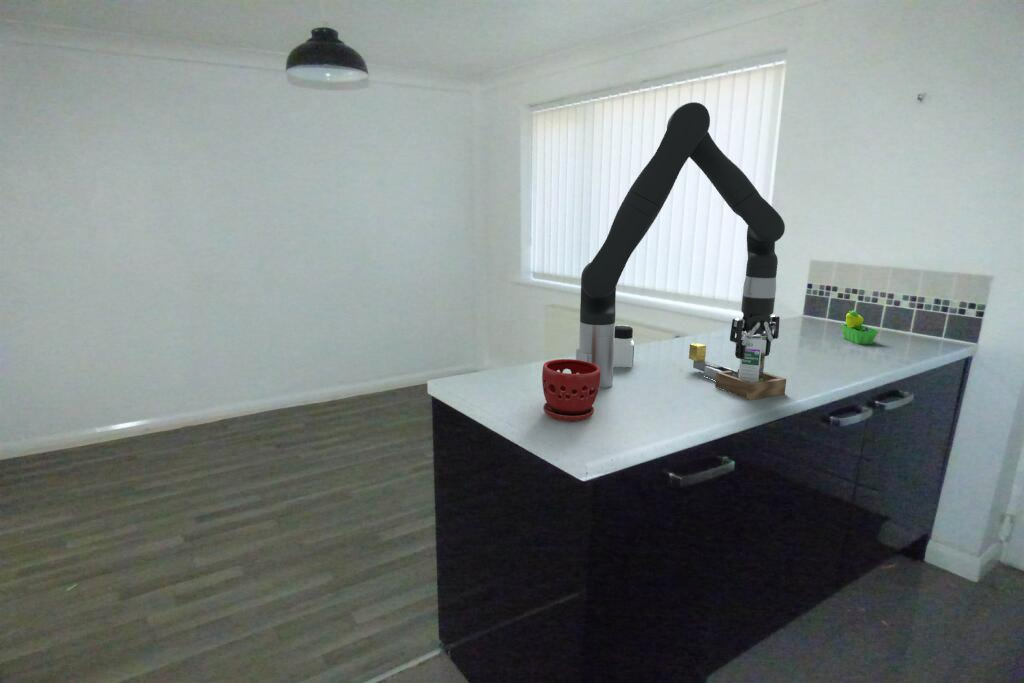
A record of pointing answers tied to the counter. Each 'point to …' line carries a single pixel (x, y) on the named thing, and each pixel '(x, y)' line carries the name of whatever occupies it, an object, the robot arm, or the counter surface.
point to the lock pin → (700, 357)
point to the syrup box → (753, 359)
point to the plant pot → (570, 389)
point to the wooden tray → (751, 385)
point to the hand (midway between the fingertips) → (752, 356)
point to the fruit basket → (857, 329)
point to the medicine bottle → (623, 346)
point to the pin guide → (711, 371)
